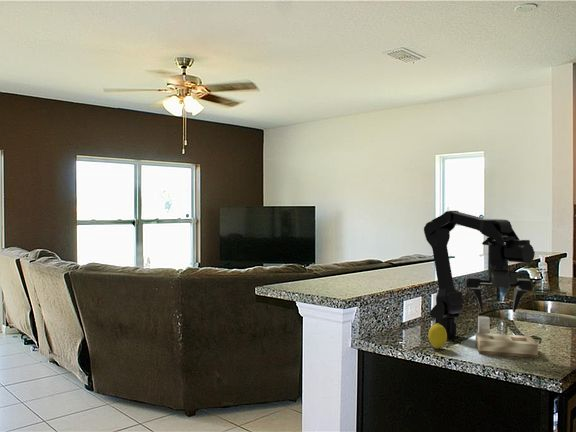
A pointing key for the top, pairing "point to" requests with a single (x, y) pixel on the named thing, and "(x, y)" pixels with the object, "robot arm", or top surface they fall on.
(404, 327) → the top surface
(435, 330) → the lemon
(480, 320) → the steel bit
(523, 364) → the top surface
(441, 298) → the robot arm
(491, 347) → the socket block
